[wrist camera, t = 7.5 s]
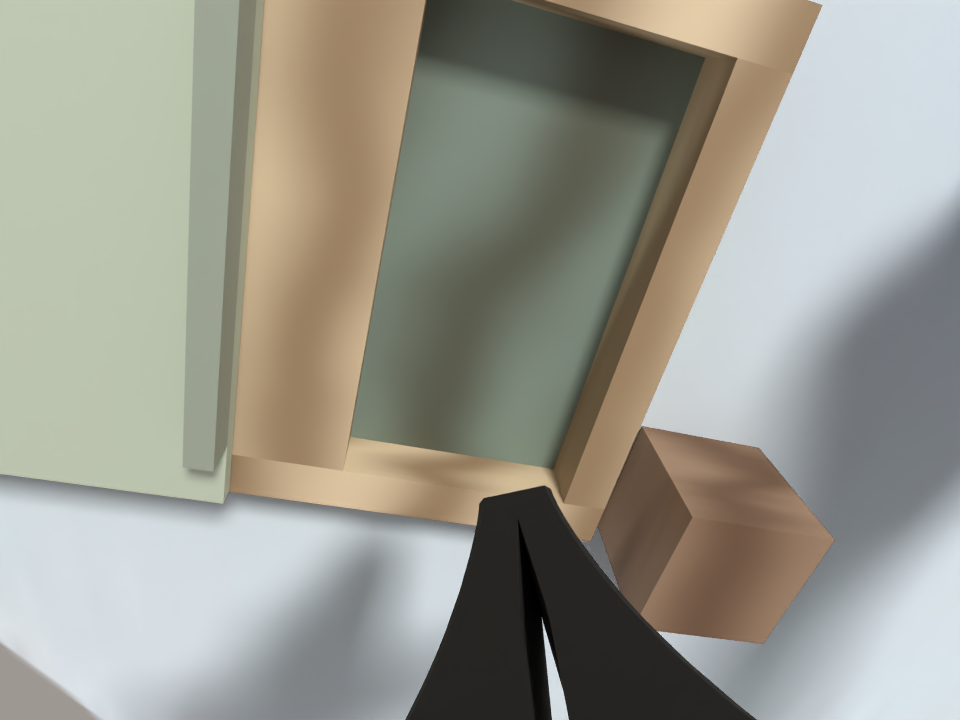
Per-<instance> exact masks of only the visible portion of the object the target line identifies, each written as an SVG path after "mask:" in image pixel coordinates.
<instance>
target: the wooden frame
mask: <svg viewBox="0 0 960 720" xmlns="http://www.w3.org/2000/svg"><path fill="white" fill-rule="evenodd" d="M821 7H822V5H820V4H817V3H814V2H811V1H808V0H264V9H263V23H262V37H261V51H260V65H259V79H258V93H257V107H256V121H255V136H254V150H253V164H252V178H251V192H250V206H249V220H248V234H247V248H246V262H245V276H244V291H243V305H242V319H241V333H240V347H239V361H238V375H237V389H236V403H235V417H234V431H233V445H232V460H231V474H230V488H229V492H235V493H242V494H249V495H256V496H264V497H271V498H278V499H286V500H293V501H300V502H307V503H315V504H322V505H329V506H337V507H344V508H351V509H358V510H366V511H373V512H380V513H387V514H395V515H402V516H409V517H417V518H424V519H431V520H438V521H446V522H453V523H460V524H468V525H475V526H476V525H477V519H478V511H479V503H480V502H481V501H482V499H483V498H486V497H491V496H496V495H501V494H505V493H510V492H515V491H519V490H524V489H529V488H534V487H538V486H543V485H545V486H547V487H549V488H550V489H551V490H552V493H553V495H554V498H555V500H556V502H557V504H558V506H559V508H560V509H561V511H562V513H563V515H564V516H565V518H566V520H567V521H568V523H569V524H570V526H571V528H572V529H573V531H574V532H575V534H576V535H577V537H578V538H579V540H584V541H591V539H592V537H593V535H594V532H595V530H596V528H597V525H598V523H599V521H600V518H601V516H602V514H603V512H604V509H605V507H606V505H607V502H608V500H609V498H610V495H611V493H612V491H613V488H614V486H615V484H616V481H617V479H618V477H619V475H620V472H621V470H622V468H623V465H624V463H625V461H626V458H627V456H628V454H629V451H630V449H631V447H632V444H633V442H634V440H635V438H636V435H637V433H638V431H639V428H640V426H641V424H642V421H643V419H644V417H645V414H646V412H647V410H648V407H649V405H650V403H651V401H652V398H653V396H654V394H655V391H656V389H657V387H658V384H659V382H660V380H661V377H662V375H663V373H664V370H665V368H666V366H667V364H668V361H669V359H670V357H671V354H672V352H673V350H674V347H675V345H676V343H677V340H678V338H679V336H680V333H681V331H682V329H683V327H684V324H685V322H686V320H687V317H688V315H689V313H690V310H691V308H692V306H693V303H694V301H695V299H696V296H697V294H698V292H699V290H700V287H701V285H702V283H703V280H704V278H705V276H706V273H707V271H708V269H709V266H710V264H711V262H712V259H713V257H714V255H715V252H716V250H717V248H718V246H719V243H720V241H721V239H722V236H723V234H724V232H725V229H726V227H727V225H728V222H729V220H730V218H731V215H732V213H733V211H734V209H735V206H736V204H737V202H738V199H739V197H740V195H741V192H742V190H743V188H744V185H745V183H746V181H747V178H748V176H749V174H750V172H751V169H752V167H753V165H754V162H755V160H756V158H757V155H758V153H759V151H760V148H761V146H762V144H763V141H764V139H765V137H766V135H767V132H768V130H769V128H770V125H771V123H772V121H773V118H774V116H775V114H776V111H777V109H778V107H779V104H780V102H781V100H782V98H783V95H784V93H785V91H786V88H787V86H788V84H789V81H790V79H791V77H792V74H793V72H794V70H795V67H796V65H797V63H798V61H799V58H800V56H801V54H802V51H803V49H804V47H805V44H806V42H807V40H808V37H809V35H810V33H811V30H812V28H813V26H814V24H815V21H816V19H817V17H818V14H819V12H820V10H821Z"/></svg>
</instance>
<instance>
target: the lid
mask: <svg viewBox="0 0 960 720" xmlns="http://www.w3.org/2000/svg"><path fill="white" fill-rule="evenodd" d="M263 9H264V0H0V474H5V475H12V476H20V477H27V478H34V479H42V480H49V481H57V482H64V483H72V484H79V485H87V486H94V487H102V488H109V489H117V490H124V491H132V492H139V493H147V494H154V495H161V496H169V497H176V498H184V499H191V500H199V501H206V502H214V503H221V504H223V503H224V501H225V499H226V497H227V495H228V493H229V488H230V474H231V460H232V445H233V431H234V417H235V403H236V389H237V375H238V361H239V347H240V333H241V319H242V305H243V291H244V276H245V262H246V248H247V234H248V220H249V206H250V192H251V178H252V164H253V150H254V136H255V121H256V107H257V93H258V79H259V65H260V51H261V37H262V23H263Z"/></svg>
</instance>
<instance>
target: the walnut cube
mask: <svg viewBox="0 0 960 720" xmlns="http://www.w3.org/2000/svg"><path fill="white" fill-rule="evenodd" d="M597 526H598V529H599V531H600V534H601V537H602V540H603V543H604V546H605V549H606V552H607V555H608V557H609V560H610V563H611V566H612V569H613V572H614V575H615V578H616V581H617V584H618V586H619V589H620V592H621V593H622V594H623V596H624V597H625V598H626V599H627V600H628V601H629V602H630V604H631V605H632V606H633V607H634V608H635V609H636V610H637V611H638V612H639V613H640V614H641V616H642V617H643V618H644V619H645V620H646V621H647V622H648V623H649V624H650V625H651V626H652V627H653V628H654V629H655V630H656V631H661V632H670V633H678V634H686V635H694V636H702V637H711V638H719V639H727V640H735V641H743V642H752V643H760V644H763V643H764V642H765V640H766V639H767V637H768V636H769V634H770V633H771V631H772V630H773V629H774V627H775V626H776V624H777V623H778V621H779V620H780V618H781V617H782V616H783V614H784V613H785V611H786V610H787V608H788V607H789V605H790V604H791V603H792V601H793V600H794V598H795V597H796V595H797V594H798V593H799V591H800V590H801V588H802V587H803V585H804V584H805V582H806V581H807V580H808V578H809V577H810V575H811V574H812V572H813V571H814V569H815V568H816V567H817V565H818V564H819V562H820V561H821V559H822V558H823V556H824V555H825V554H826V552H827V551H828V549H829V548H830V546H831V545H832V543H833V542H834V541H835V540H834V538H833V537H832V536H831V535H830V534H829V532H828V531H827V530H826V529H825V527H824V526H823V525H822V524H821V523H820V521H819V520H818V519H817V518H816V517H815V515H814V514H813V513H812V512H811V510H810V509H809V508H808V507H807V506H806V504H805V503H804V502H803V501H802V500H801V498H800V497H799V496H798V495H797V493H796V492H795V491H794V490H793V489H792V487H791V486H790V485H789V484H788V483H787V481H786V480H785V479H784V478H783V476H782V475H781V474H780V473H779V472H778V470H777V469H776V468H775V467H774V466H773V464H772V463H771V462H770V461H769V459H768V458H767V457H766V456H765V455H764V453H763V452H762V451H761V450H760V449H759V448H756V447H751V446H746V445H740V444H735V443H730V442H724V441H719V440H714V439H708V438H703V437H697V436H692V435H687V434H681V433H676V432H671V431H665V430H660V429H655V428H649V427H644V426H642V427H641V429H640V431H639V434H638V436H637V438H636V440H635V443H634V445H633V447H632V449H631V451H630V454H629V456H628V458H627V460H626V463H625V465H624V467H623V469H622V472H621V474H620V476H619V478H618V481H617V483H616V485H615V487H614V489H613V492H612V494H611V496H610V498H609V501H608V503H607V505H606V507H605V510H604V512H603V514H602V516H601V519H600V521H599V523H598V525H597Z"/></svg>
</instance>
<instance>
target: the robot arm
mask: <svg viewBox="0 0 960 720" xmlns="http://www.w3.org/2000/svg"><path fill="white" fill-rule="evenodd" d="M542 619H543V623H544V626H545V630H546V633H547V636H548V640H549V643H550V647H551V650H552V654H553V657H554V660H555V664H556V667H557V671H558V674H559V677H560V681H561V684H562V688H563V691H564V696H565V701H566V706H567V711H568V716H569V720H756V719H755V718H754V717H753V716H751V715H750V714H749V713H748V712H746V711H745V710H744V709H742V708H741V707H740V706H739V705H738V704H736V703H735V702H734V701H733V700H732V699H731V698H729V697H728V696H727V695H726V694H725V693H724V692H722V691H721V690H720V689H719V688H718V687H717V686H716V685H714V684H713V683H712V682H711V681H710V680H709V679H707V678H706V677H705V676H704V675H703V674H702V673H700V672H699V671H698V670H697V669H696V668H695V667H693V666H692V665H691V664H690V663H689V662H688V661H687V660H686V659H685V658H684V657H683V656H682V655H681V654H679V653H678V652H677V651H676V650H675V649H674V648H673V647H672V646H671V645H670V644H669V643H668V642H667V641H666V640H665V639H664V638H663V637H662V636H661V635H660V634H659V633H658V632H657V631H656V630H655V629H654V628H653V627H652V626H651V625H650V624H649V623H648V622H647V621H646V620H645V619H644V618H643V617H642V616H641V614H640V613H639V612H638V611H637V610H636V609H635V608H634V607H633V606H632V605H631V604H630V602H629V601H628V600H627V599H626V598H625V597H624V596H623V594H622V593H621V592H620V591H619V590H618V589H617V587H616V586H615V585H614V584H613V583H612V582H611V580H610V579H609V578H608V577H607V575H606V574H605V573H604V572H603V570H602V569H601V568H600V567H599V565H598V564H597V563H596V561H595V560H594V559H593V557H592V556H591V555H590V553H589V552H588V551H587V549H586V548H585V547H584V545H583V544H582V542H581V541H580V540H579V538H578V537H577V535H576V534H575V532H574V531H573V529H572V528H571V526H570V524H569V523H568V521H567V520H566V518H565V516H564V515H563V513H562V511H561V509H560V508H559V506H558V504H557V502H556V500H555V498H554V495H553V493H552V490H551V489H550V488H549V487H547V486H545V485H543V486H538V487H534V488H529V489H524V490H519V491H515V492H510V493H505V494H501V495H496V496H491V497H486V498H483V499H482V501H481V502H480V503H479V511H478V519H477V525H476V531H475V535H474V540H473V544H472V549H471V553H470V557H469V560H468V564H467V568H466V571H465V575H464V578H463V582H462V585H461V588H460V592H459V595H458V598H457V600H456V603H455V606H454V609H453V612H452V615H451V617H450V620H449V623H448V626H447V629H446V631H445V634H444V637H443V639H442V642H441V644H440V647H439V649H438V651H437V654H436V656H435V659H434V661H433V663H432V665H431V668H430V670H429V672H428V674H427V677H426V679H425V681H424V683H423V685H422V687H421V689H420V691H419V693H418V695H417V697H416V699H415V701H414V703H413V705H412V708H411V710H410V712H409V714H408V716H407V718H406V720H552V716H551V706H550V696H549V686H548V676H547V666H546V656H545V646H544V636H543V626H542Z"/></svg>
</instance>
